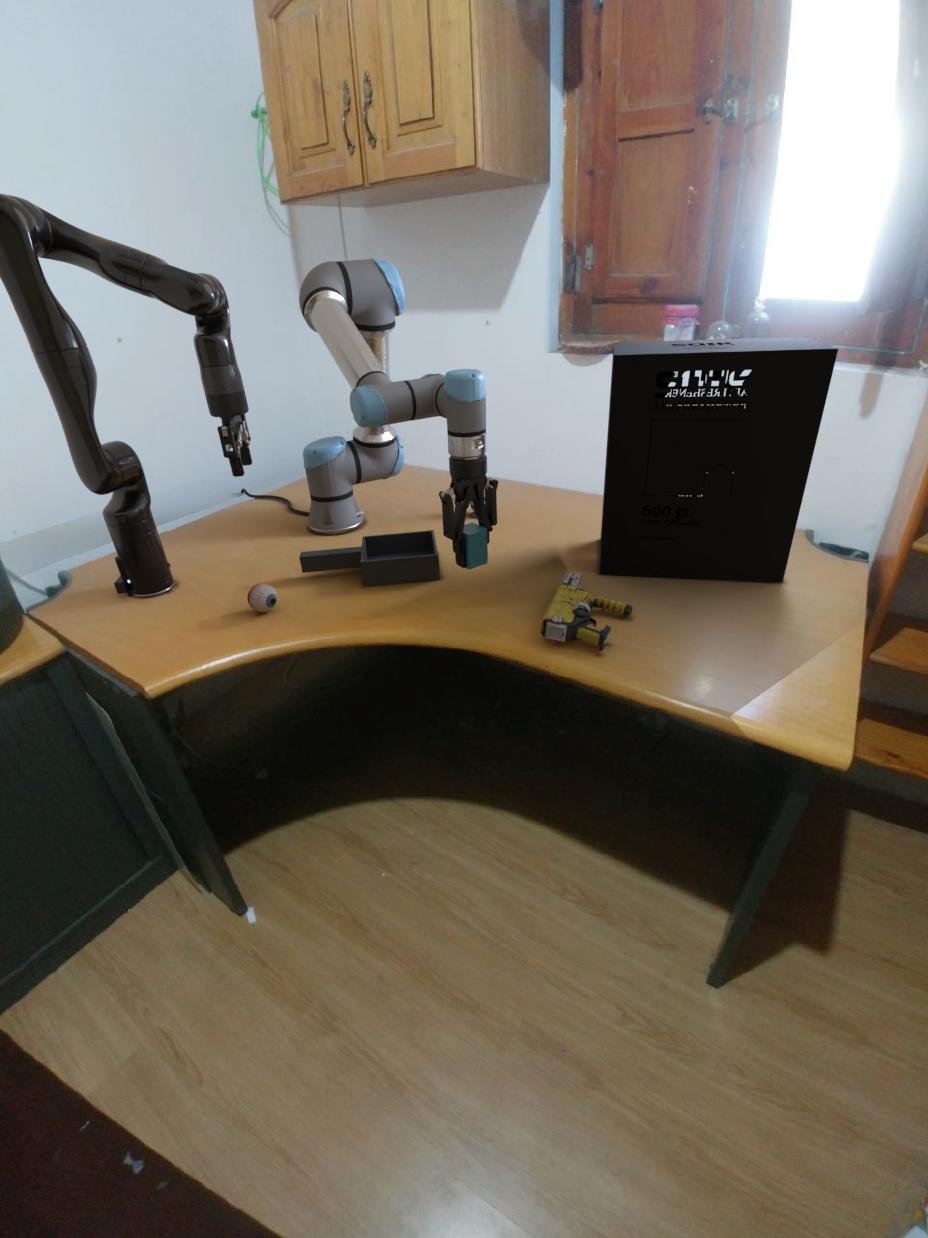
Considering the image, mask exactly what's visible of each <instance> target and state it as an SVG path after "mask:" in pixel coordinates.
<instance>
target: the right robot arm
mask: <svg viewBox="0 0 928 1238" xmlns="http://www.w3.org/2000/svg"><path fill="white" fill-rule="evenodd" d="M298 295H299V296H298V302H299V310H300V312H301V315H302V317H303V319H304V321H305V323H306V325H307V326H308V327H309V328H310V329H311V330H312V331H313V332H315V333H317V334H318V335H319V337H320V339H321V340H322V342H323V344H324V345H325V348H326V349H327V350H328V352H329V354H330V355H331V357H332V358H333V360H334V362H335V363H336V366H337V367H338V369H339V370H340V372H341V374H342V375H343V377H344V379H345V380H346V382H347V384H348V385H349V387H350V389H351V390H350V392H349V393H350V394H349V407H350V411H351V414H352V417H353V420H354V422H355V423H356V424H357V425H356V426H355V427H354V428H353V429H352V439H350V440H346V439H345V437H343V436H341V435H334V436H326V437H323V438H319V439H316V440H314V441H313V440H312V442H310V443H308V444H307V445H305V447H304V448H303V450H302V457H303V458H302V460H303V468H304V471H305V476H306V481H307V486H308V492H309V498H310V507H309V511H304V510H299V509H296V508H294V507H292V502H291V501H290V500H289V499H288V498H285V497H283V496H278V495H273V494H271V495H270V494H251V493H249V492H248V491H247V490H246V488H241V490H240V494H245V495H246V496H247V497H249V498H252V499H274V500H279V501H283V502H285V503H287V507H288V509H289V510H290V511H291V512H293V513H296V514H299V515H304V516H308V528H309V529H308V530H310V531H311V532H312V533H314V534H317V535H323V536H324V535H325V536H327V535H329V536H331V535H339V534H340V535H341V534H345V533H350V532H353V531H355V530H357V529H359V528H361V527H362V526H363V525H364V523H365V519H364V514H365V510H364V509H362V510H361V508H360V505H359V504H358V501H357V500H356V498H355V495H354V489H353V486H355V485H360V484H365V483H370V482H375V481H380V480H387V479H389V478H392V477H396V476H398V475H399V474H400V473H401V471H402V470H403V467H404V463H405V449H404V443H403V440H402V438H401V436H400V435H399V434H397V431H396V430H395V428H394V427H393V426H392V425H394V424H398V423H400V424H401V423H404V422H405V423H406V422H410V421H412V422H413V421H417V420H424V419H431V418H437V417H441V418H444V419H446V428H447V429H446V431H447V454H448V455H450V456H449V457H448V469H449V475H450V479H451V480H450V484H449V488H448V489H446V490H445V491H443V490H440V491H439V492H438V497H439V499H440V502H441V512H442V513H441V515H442V531H443V532H442V533H443V537H445V538H447V539H448V540H451V542H452V552H453V553H454V554H455V553H456V560H455V564H456V565H457V566H459V567H460V568H462V569H467V564H466V542H465V539H464V538H462V535H463V529H464V525H465V524H466V516H467V510H468V508H469V507H470V504H469V502H471V501H473V504H474V508H475V512H476V515H477V517H476V518H477V522H478V523H477V524H478V525H480V526H482V527H484V528H486V529H487V545H488V544H490V537H491V536H490V533H491V532H493V530H494V527H493V526H497V525H498V509H497V508H498V505H497V504H498V503H497V502H498V501H497V500H498V499H497V490H498V486H499V480H498V479H495V478H493V477H488V476H487V473H488V456H487V454H486V453H487V451H488V448H487V447H488V446H487V389H486V384H485V383H486V382H485V375H484V372H482V371H481V370H479V369H475V368H473V369H472V368H459V369H451V370H449V371H447V372H446V373H445V374H442V373H427V374H424V375H422V376H421V377H419V378H413V379H407V380H398V381H392V380H391V375H390V371H391V370H390V369H391V367H390V333H391V332H392V331H393V330H394V329H395V328H396V317H399V316H401V315H402V314H403V313H404V310H405V308H406V297H405V289H404V284H403V281H402V278H401V276H400V273H399V271H398V269H397V267H396V266H395V264H393V263H392V262H391V261H389V260H387V259H376V258H375V259H374V258H366V259H352V260H338V261H334V260H330V261H324V262H321V263H319V264H317V265H315V266H314V267H313V268H311V269H310V270H309V271H308V273H307V274H306V275H305V277H304V279H303V281H302V283H301V286H300V289H299V294H298ZM484 488H485V490H484ZM483 490H484V492H485V498H484V494H483ZM484 501H485V503H484ZM488 551H489V550H488V549H487V559H488V560H489V558H488V557H489V556H488V555H489V553H488Z"/></svg>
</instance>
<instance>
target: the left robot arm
mask: <svg viewBox="0 0 928 1238" xmlns="http://www.w3.org/2000/svg"><path fill="white" fill-rule="evenodd" d="M39 258H40V259H46V260H50V261H55V262H61V263H65V264H69V265H73V266H75V267H79V268H81V269H83V270H86V271H88V272H90V273H92V274H94V275H96V276H97V277H100V278H101V279H102V280H105V281H107V282H109V283H111V284H113V285H115V286H117V287H120V288H122V289H125V290H128V291H130V292H133V293H136V294H138V295H141V296H145V297H147V298H149V299H152V300H153V299H154V300H156V301H159V302H161V303H163V304H165V305H167V306H168V307H170V308H172V309H174V310H176V311H179V312H181V313H184V314H186V315H189V316H192V317H194V321H195V327H196V332H195V334H194V336H193V340H192V341H193V346H194V352H195V356H196V359H197V364H198V366H199V373H200V374H199V375H200V380H201V385H202V389H203V392H204V396H205V400H206V404H207V408H208V412H209V415H210V416H211V417H213V418H219V419H220V420H221V425H220V426H217V433H218V436H219V440H220V445H221V449H222V456H223V458H225V459H226V458H227V459H228V462H229V466H230V469H231V473H232V476H233V477H235V478H237V477H244V475H245V469H244V467H245V466H251V465H252V464H253V459H252V455H251V450H250V445H251V441H252V438H251V435H250V432H249V431H250V430H249V426H248V422H247V418H246V414H247V413H249V410H250V409H249V405H248V400H247V399H248V398H247V395H246V392H245V386H244V382H243V377H242V373H241V371H240V368H239V365H238V361H237V356H236V352H235V351H236V350H235V347H234V344H233V340H232V325H231V312H230V304H229V299H228V296H227V293H226V290H225V287H224V285H223V284H222V283H221V281H220V279H218V278H217V277H215V276H214V275H213V274H209V273H207V272H192V271H188V270H185V269H182V268H180V267H177V266H175V265H171V264H169V263H168V262H167V261H165V259H162V258H160V257H158V256H157V255H154V254H151V253H148V252H145V251H143V250H140V249H138V248H135V247H132V246H129V245H127V244H124V243H120V242H118V241H115V240H111V239H108V238H105V237H103V236H99V235H97V234H94V233H92V232H89V231H87V230H84V229H82V228H79V227H77V226H76V225H73V224H71V223H69V222H67V221H65V220H63V219H61V218H60V217H58V216H56V215H54V214H53V213H51V212H50V211H49V212H48V211H47V210H45V209H43V208H42V207H40V206H38V205H37V204H35V203H33V202H31V201H29V200H28V199H25V198H23V197H19V196H17V195H16V196H15V195H10V194H5V193H0V280H1V283H2V284H3V286H4V288H5V290H6V293H7V295H8V297H9V299H10V302H11V305H12V307H13V309H14V312H15V314H16V316H17V318H18V321H19V323H20V325H21V328H22V330H23V332H24V335H25V337H26V340H27V342H28V345H29V348H30V351H31V353H32V355H33V358H34V361H35V363H36V365H37V368H38V370H39V372H40V375H41V378H42V379H43V381H44V383H45V386H46V388H47V390H48V393H49V395H50V398H51V400H52V403H53V407H54V408H55V412H56V413H57V417H58V419H59V422H60V424H61V428H62V431H63V434H64V438H65V441H66V445H67V447H68V450H69V454H70V457H71V461H72V464H73V465H74V466H73V467H74V469H75V472H76V474H77V476H78V478H79V480H80V481H81V482H82V484H83V485H84V486H85V488H86V489H87V490H88V491H90V492H91V493H93V494H96V495H99V496H105V495H109V494H111V496H110V497H111V498H110V499H109V501H108V503H107V504H106V505H105V506H104V507H103V510H102V517H103V520H104V522H105V525H106V528H107V531H108V533H109V536H110V538H111V541H112V544H113V546H114V547H113V548H114V549H115V552H116V556H115V557H114V561H115V564H116V566H117V569H118V572H119V576H118V577H117V579H116V580H115V581H114V582H113V586H114V587H115V590H116V593H117V595H127V596H128V597H134V598H138V599H148V598H154V597H158V596H162V595H163V594H166V593H168V592H170V591H171V590H173V588H174V587H175V586H176V581H175V579H174V577H173V574H172V571H171V568H172V566H171V564H170V563H169V561H168V558H167V556H166V553H165V550H164V545H163V543H162V541H161V537H160V534H159V532H158V531H159V530H158V528H157V525H156V522H155V519H154V515H153V512H152V509H151V506H152V505H151V504H152V498H151V492H150V490H149V485H148V482H147V479H146V474H145V471H144V467H143V465H142V462H141V459H140V457H139V455H138V454H137V452H136V451H135V450H134V449H133V447H132V446H131V445H130V444H128V443H127V442H124V441H121V440H111V441H107V442H104V443H101V440H100V436H99V433H98V430H97V427H96V421H95V408H96V399H97V392H98V372H97V369H96V366H95V363H94V359H93V357H92V354H91V351H90V349H89V346H88V344H87V342H86V339H85V337H84V335H83V333H82V332H81V330H80V329H79V327H78V325H77V324H76V322H75V321H74V320H73V318H72V317H71V316H70V315H69V313H68V312H67V310H66V309H65V308H64V306H63V305H62V304H61V303H60V302H59V300H58V298H57V297H56V296H55V294H54V292H53V291H52V289H51V287H50V285H49V282H48V281H47V278H46V276H45V274H44V273H45V272H44V270H43V268H42V264H41V263H40V259H39ZM231 449H232V450H231Z"/></svg>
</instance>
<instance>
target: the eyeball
mask: <svg viewBox="0 0 928 1238" xmlns="http://www.w3.org/2000/svg"><path fill="white" fill-rule="evenodd" d="M246 600H247V603H248V605H249V607H250V608H251V609H252V610H254V611H255V612H258V613H268V612H270V611H272V610H273V609H274V608H275V607H276V606H277V603H278V600H279V596H278V593H277V590H276V589H275V588H274V587H273V586H272V585H270V584H267V583H258V584H255V585H253V586H252V587H251V588H250V589H249V591H248V592H247V599H246Z"/></svg>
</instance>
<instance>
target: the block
mask: <svg viewBox="0 0 928 1238" xmlns="http://www.w3.org/2000/svg"><path fill="white" fill-rule="evenodd" d="M462 538H464V539H465V542H466V564H467V568H466V569H467V570H468V571H470V570H473V569H476V568H478V567H481V566H483V565H487V564H488V561H489V558H488V559H487V550H488V544H487V529H486V528H484V527H482V526H480V525H479V523H476V522H474V521H471V522H468V523H464V529H463V535H462ZM454 557H455V558H454V560H455V561H456V553H454Z"/></svg>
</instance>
